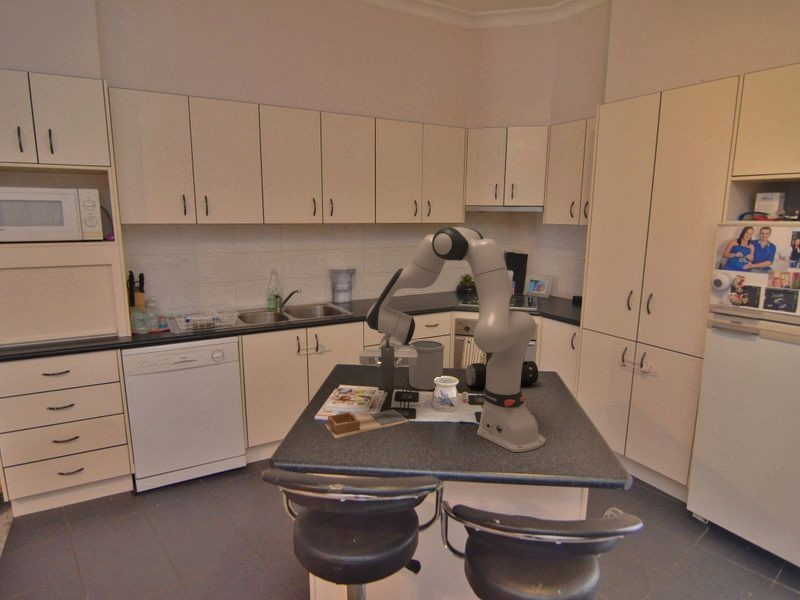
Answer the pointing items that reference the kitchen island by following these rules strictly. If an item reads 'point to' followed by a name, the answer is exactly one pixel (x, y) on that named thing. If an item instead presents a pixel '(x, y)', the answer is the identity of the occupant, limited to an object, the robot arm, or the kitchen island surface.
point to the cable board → (362, 422)
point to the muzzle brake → (478, 374)
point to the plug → (387, 366)
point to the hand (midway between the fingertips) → (387, 365)
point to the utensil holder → (426, 363)
